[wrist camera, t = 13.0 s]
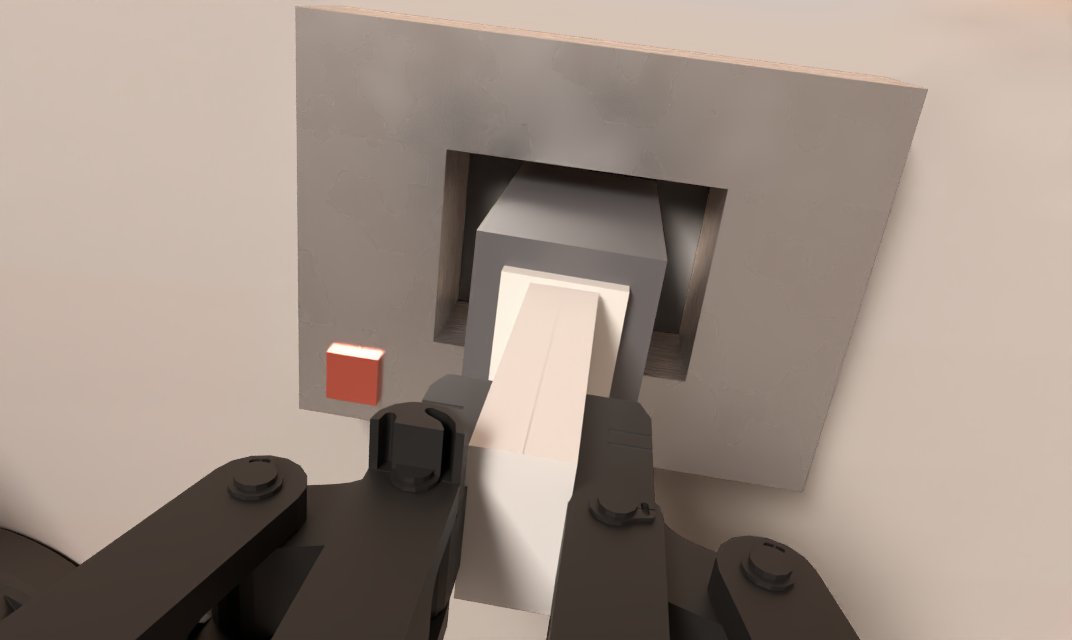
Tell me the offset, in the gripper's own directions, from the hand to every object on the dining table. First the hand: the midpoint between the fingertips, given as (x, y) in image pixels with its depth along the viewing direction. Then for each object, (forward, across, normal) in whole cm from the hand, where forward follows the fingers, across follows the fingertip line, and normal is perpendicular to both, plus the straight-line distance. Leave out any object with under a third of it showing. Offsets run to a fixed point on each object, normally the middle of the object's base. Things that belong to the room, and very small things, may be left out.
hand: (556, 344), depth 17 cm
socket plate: (+9, 0, 0) cm, 9 cm away
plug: (+9, 0, 0) cm, 9 cm away
